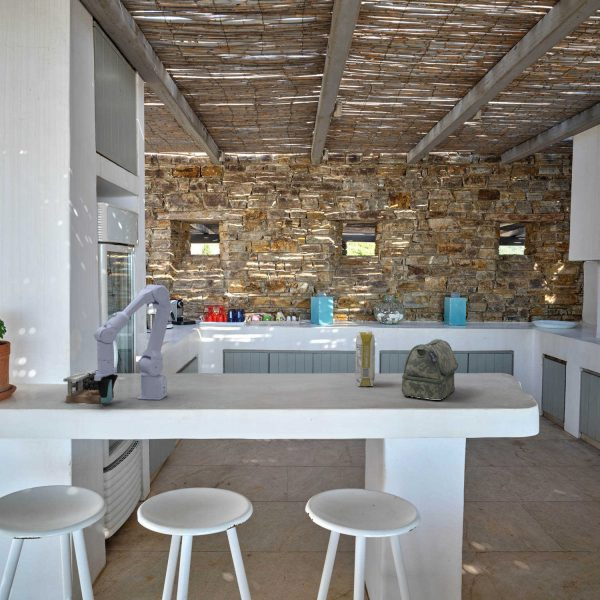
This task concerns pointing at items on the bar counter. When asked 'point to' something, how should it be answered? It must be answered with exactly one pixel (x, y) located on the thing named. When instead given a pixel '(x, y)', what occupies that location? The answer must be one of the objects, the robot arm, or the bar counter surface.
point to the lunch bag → (429, 370)
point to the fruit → (87, 383)
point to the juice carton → (365, 358)
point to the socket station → (81, 391)
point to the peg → (109, 395)
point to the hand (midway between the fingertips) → (106, 395)
